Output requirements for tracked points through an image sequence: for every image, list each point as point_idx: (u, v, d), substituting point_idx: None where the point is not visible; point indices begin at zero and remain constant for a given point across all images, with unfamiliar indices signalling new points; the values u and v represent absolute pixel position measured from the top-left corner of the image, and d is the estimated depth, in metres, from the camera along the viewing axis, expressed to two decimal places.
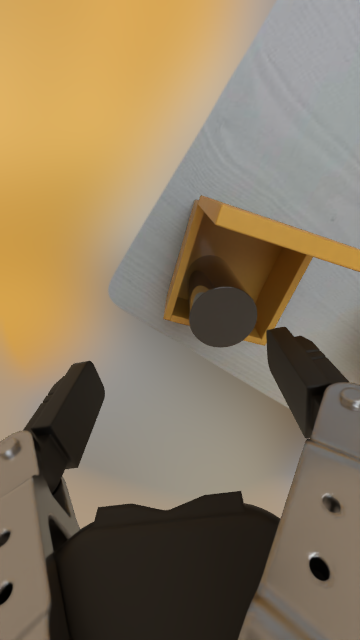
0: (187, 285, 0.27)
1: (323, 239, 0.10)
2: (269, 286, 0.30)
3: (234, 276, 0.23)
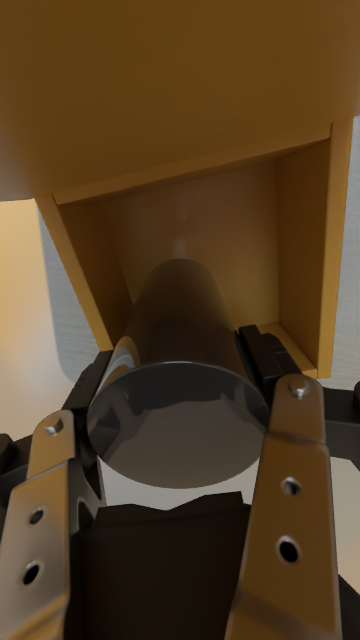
0: None
1: None
2: (287, 262, 0.15)
3: (185, 298, 0.10)
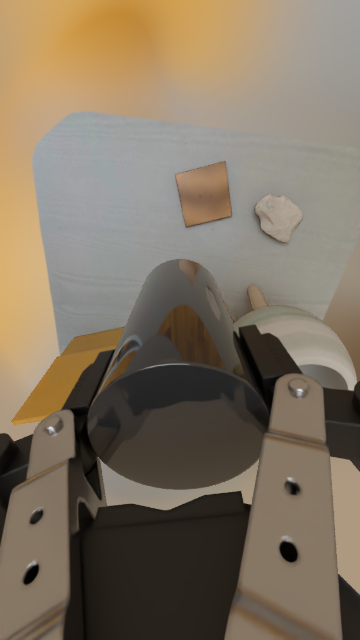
0: None
1: (43, 416, 0.30)
2: None
3: (185, 299, 0.10)
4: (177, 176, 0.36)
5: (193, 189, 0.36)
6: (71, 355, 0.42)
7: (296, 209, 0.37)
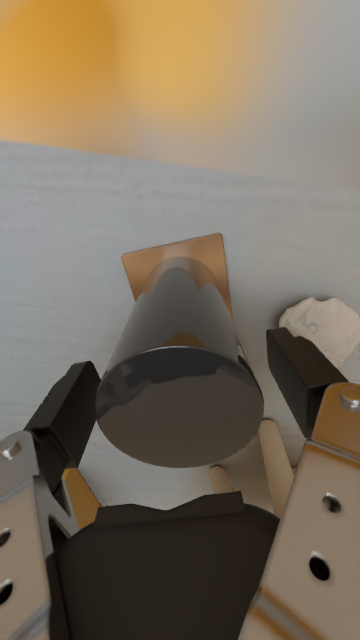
0: None
1: None
2: None
3: (185, 292, 0.11)
4: (125, 260, 0.18)
5: None
6: None
7: (357, 321, 0.19)
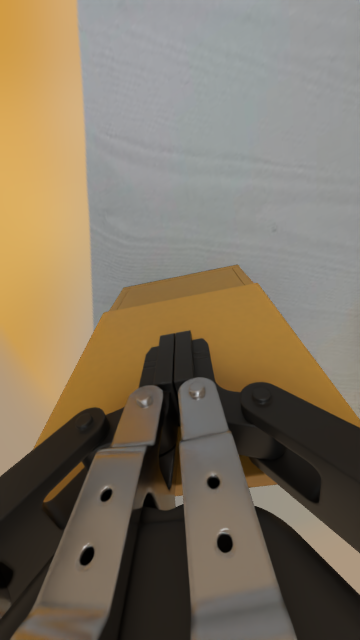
0: None
1: None
2: None
3: None
4: None
5: None
6: (135, 308, 0.19)
7: None
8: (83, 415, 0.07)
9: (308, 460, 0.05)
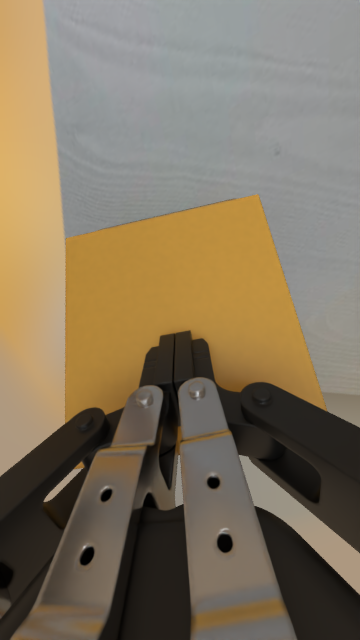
0: None
1: None
2: None
3: None
4: None
5: None
6: (106, 234, 0.15)
7: None
8: (83, 415, 0.07)
9: (308, 460, 0.05)
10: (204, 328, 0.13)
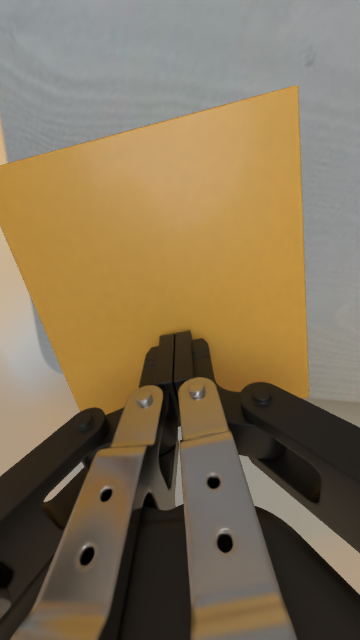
0: None
1: None
2: None
3: None
4: None
5: None
6: (45, 166, 0.09)
7: None
8: (83, 415, 0.07)
9: (308, 460, 0.05)
10: (203, 314, 0.11)
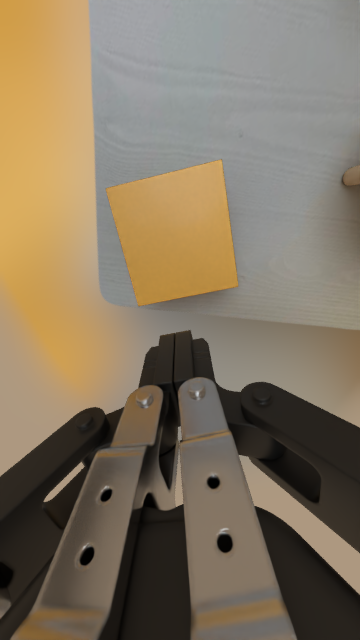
0: None
1: None
2: None
3: None
4: None
5: None
6: (131, 186, 0.26)
7: None
8: (83, 415, 0.07)
9: (308, 460, 0.05)
10: (191, 246, 0.28)
